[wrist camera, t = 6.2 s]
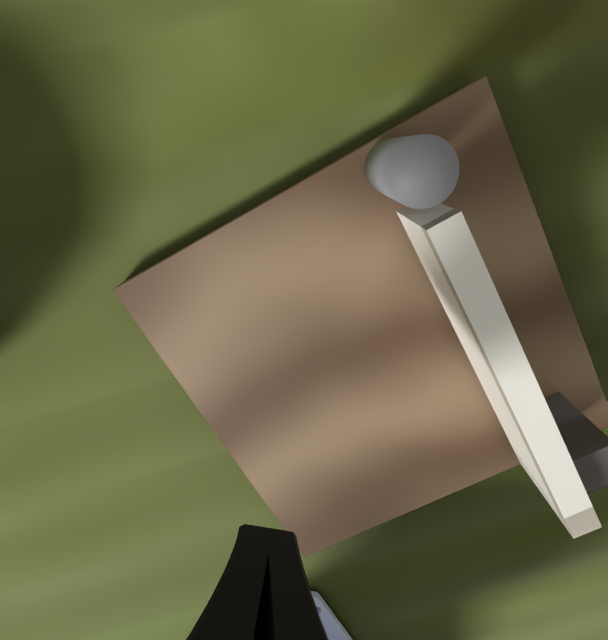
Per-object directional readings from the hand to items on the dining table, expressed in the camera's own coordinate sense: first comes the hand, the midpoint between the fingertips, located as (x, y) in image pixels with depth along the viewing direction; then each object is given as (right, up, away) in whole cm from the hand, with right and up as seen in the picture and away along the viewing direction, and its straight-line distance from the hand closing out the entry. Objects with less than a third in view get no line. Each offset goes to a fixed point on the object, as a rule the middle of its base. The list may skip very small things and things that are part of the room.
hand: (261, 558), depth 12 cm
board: (+4, +5, +8) cm, 10 cm away
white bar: (+7, +6, +6) cm, 11 cm away
